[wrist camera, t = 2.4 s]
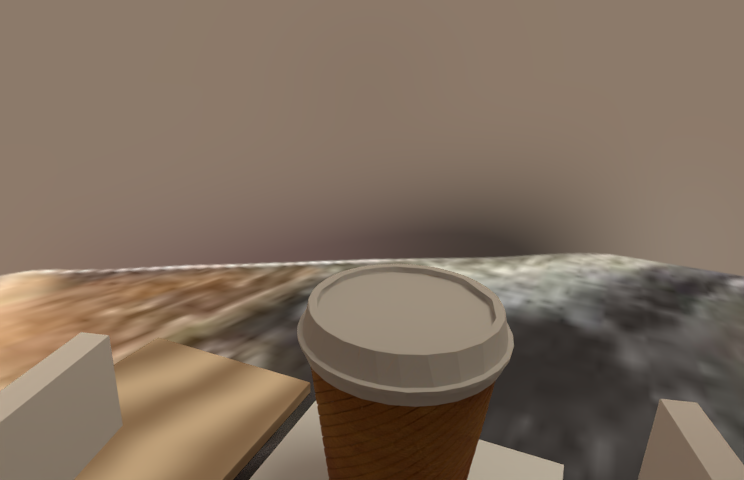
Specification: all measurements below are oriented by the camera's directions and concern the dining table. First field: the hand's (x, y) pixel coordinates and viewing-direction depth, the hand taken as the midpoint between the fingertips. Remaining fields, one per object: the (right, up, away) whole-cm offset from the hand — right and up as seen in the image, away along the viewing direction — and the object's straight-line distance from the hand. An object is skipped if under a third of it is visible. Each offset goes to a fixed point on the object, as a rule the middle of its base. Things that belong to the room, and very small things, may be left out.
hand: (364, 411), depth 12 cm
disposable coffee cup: (+1, -10, +14) cm, 17 cm away
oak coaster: (-13, -8, +20) cm, 25 cm away
